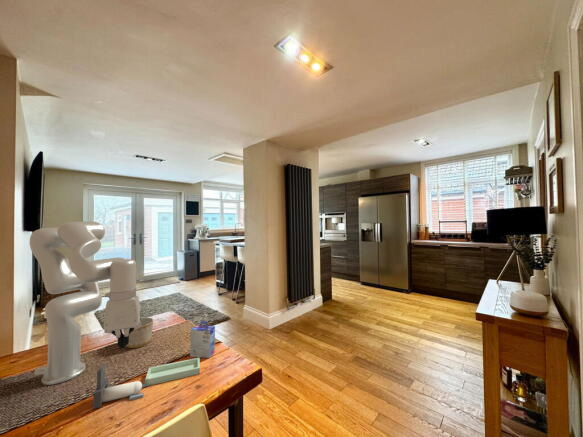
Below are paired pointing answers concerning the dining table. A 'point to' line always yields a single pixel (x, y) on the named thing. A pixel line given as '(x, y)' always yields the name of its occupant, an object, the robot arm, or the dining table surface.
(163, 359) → the dining table surface
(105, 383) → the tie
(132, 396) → the pair of grey bars
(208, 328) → the ink cartridge box
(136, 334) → the planter
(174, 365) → the tray
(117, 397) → the capsule
